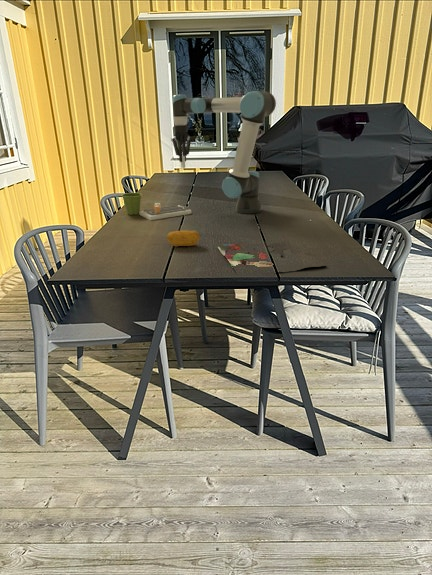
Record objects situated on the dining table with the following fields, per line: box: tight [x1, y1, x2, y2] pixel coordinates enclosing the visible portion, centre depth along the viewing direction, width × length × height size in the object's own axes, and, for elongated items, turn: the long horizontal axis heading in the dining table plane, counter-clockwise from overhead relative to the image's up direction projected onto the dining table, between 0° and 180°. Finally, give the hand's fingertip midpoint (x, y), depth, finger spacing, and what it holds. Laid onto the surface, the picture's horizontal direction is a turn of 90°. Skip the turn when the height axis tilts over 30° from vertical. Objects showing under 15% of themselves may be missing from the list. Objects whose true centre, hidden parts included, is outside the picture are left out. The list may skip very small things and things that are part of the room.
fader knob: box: [153, 205, 160, 213], centre depth 225 cm, size 3×2×4 cm
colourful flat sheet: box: [216, 243, 274, 268], centre depth 162 cm, size 35×35×2 cm
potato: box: [166, 230, 200, 247], centre depth 177 cm, size 7×14×7 cm, turn 88°
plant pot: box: [120, 192, 143, 216], centre depth 233 cm, size 12×12×11 cm
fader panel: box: [138, 202, 192, 221], centre depth 231 cm, size 16×26×6 cm, turn 121°
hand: (183, 167), depth 236 cm, fingers closed
